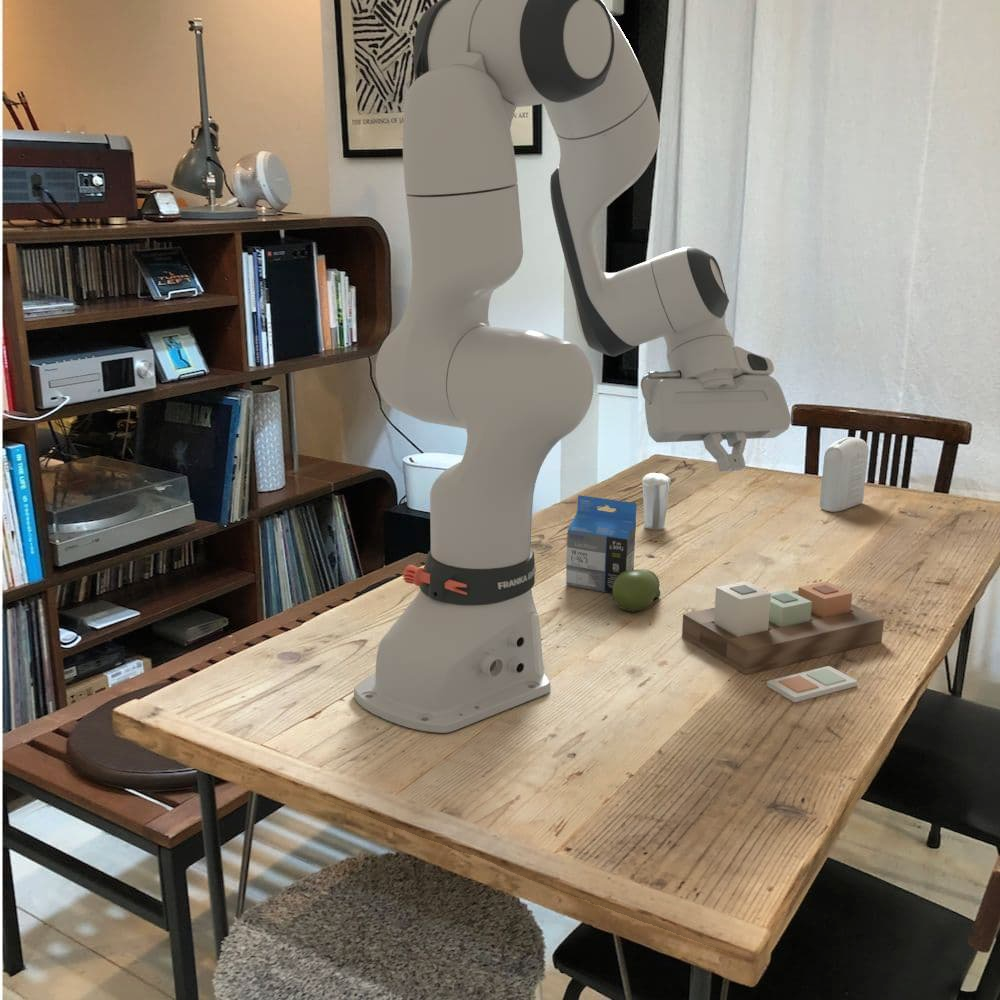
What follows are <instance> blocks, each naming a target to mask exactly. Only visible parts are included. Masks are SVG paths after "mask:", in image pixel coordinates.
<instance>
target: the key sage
mask: <svg viewBox="0 0 1000 1000" xmlns="http://www.w3.org/2000/svg"><path fill="white" fill-rule="evenodd" d="M770 593H771V601H770V613H769V621H770V622H772V623H774V624H775V625H777V626H779V627H785V626H790V625H794V624H799V623H803V622H808V621H810V617H811V607H812V601H810V600H807V599H805V598H803V597H801V596H799V595H797V594H795V593H793V591H790V590H788V589H781V590H778V591H772V592H770Z"/></svg>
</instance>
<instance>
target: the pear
mask: <svg viewBox="0 0 1000 1000" xmlns="http://www.w3.org/2000/svg"><path fill="white" fill-rule="evenodd" d="M612 592H613V593H612V597H613V600H614V602H615V603H616V605H617V606H618V607H619V608H620V609H623V610H624V611H628V612H640V611H642V610H644V609H645V610H646V608H648V606H649V605H651V603H652V602H653V601H654V600H655V599H659V598H660V597H661V590H660V580H659V577H658V576H657V574H656V573H655V572H653V571H652V570H649V569H645V568H642V569H637V568H636V569H635V568H634V570H628V571H624V572H622V573H621V574H620V575H619V576H618V577H617V578H616V580H615V582H614V584H613V590H612Z"/></svg>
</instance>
